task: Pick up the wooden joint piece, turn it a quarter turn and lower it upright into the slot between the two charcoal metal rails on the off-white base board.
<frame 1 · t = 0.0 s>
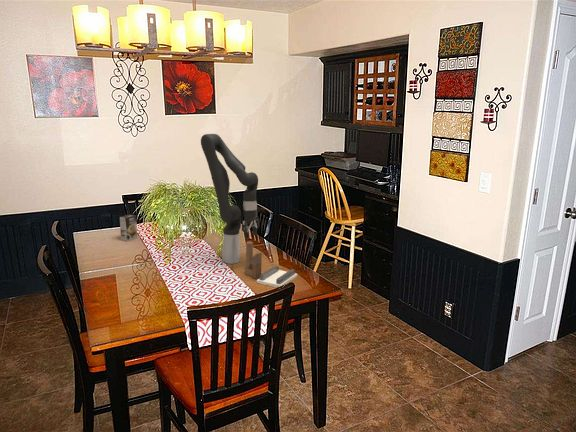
hand: (250, 236, 248), 17 cm above the table, tool pointing down, fingers open, 8 cm apart
coffee box: (129, 239, 296), on the table
slotted base: (277, 279, 232), on the table
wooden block: (252, 276, 236), on the table
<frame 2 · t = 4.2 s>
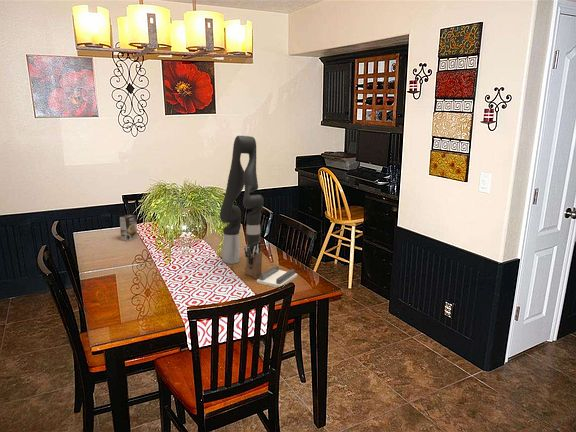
hand: (253, 262, 234), 7 cm above the table, tool pointing down, fingers closed on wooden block, 4 cm apart
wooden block: (253, 276, 236), on the table, touching gripper
everything else where it was.
when the fingers open (9 cm above the table, at t = 12.5 s): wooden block stays where it is, resting on slotted base.
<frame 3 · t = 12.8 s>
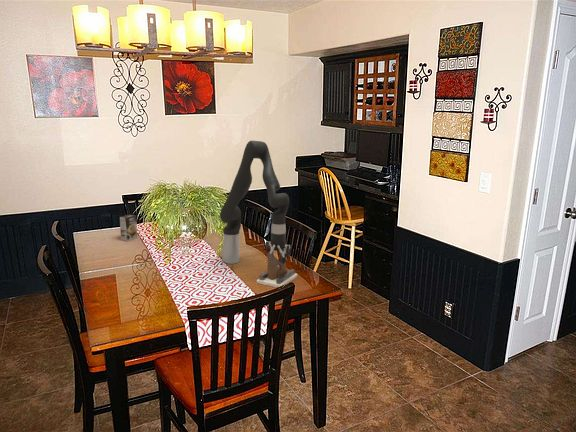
hand: (277, 262, 229), 10 cm above the table, tool pointing down, fingers open, 6 cm apart
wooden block: (277, 277, 231), point 1 cm above the table, touching slotted base
everything else where it was.
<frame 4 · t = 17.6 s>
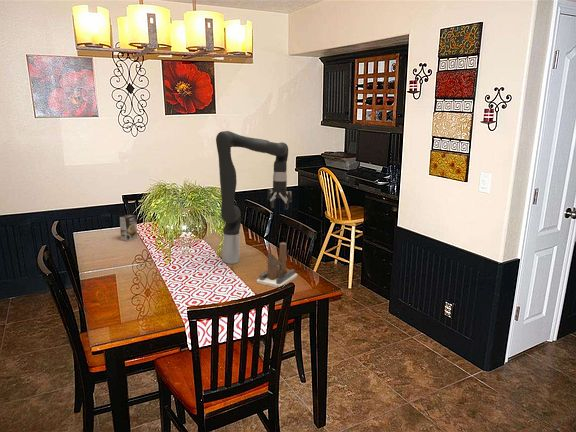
hand: (279, 208, 242), 34 cm above the table, tool pointing down, fingers open, 8 cm apart
nothing on the table moved.
at the end: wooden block inside the target area on the slotted base (0.1 cm from its centre), point 1.3 cm above the slotted base's base; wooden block tilted 0°; the gripper is holding nothing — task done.
